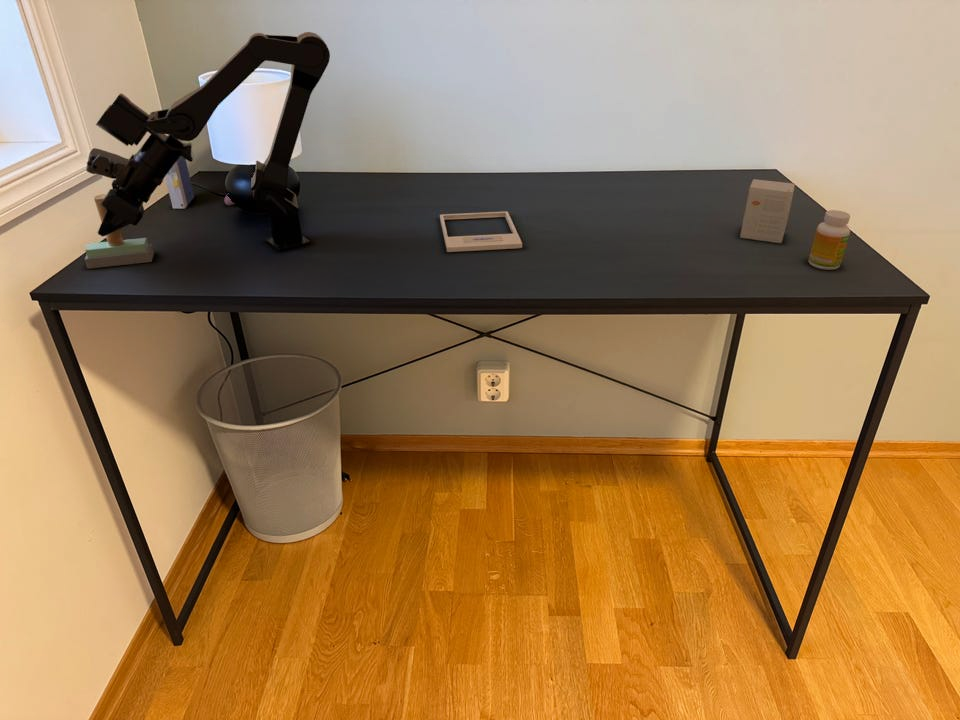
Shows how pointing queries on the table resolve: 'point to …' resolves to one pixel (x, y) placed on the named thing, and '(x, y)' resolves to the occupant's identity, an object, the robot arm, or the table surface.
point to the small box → (767, 210)
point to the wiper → (116, 247)
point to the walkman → (179, 184)
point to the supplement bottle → (830, 241)
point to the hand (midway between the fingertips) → (103, 228)
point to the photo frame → (480, 240)
